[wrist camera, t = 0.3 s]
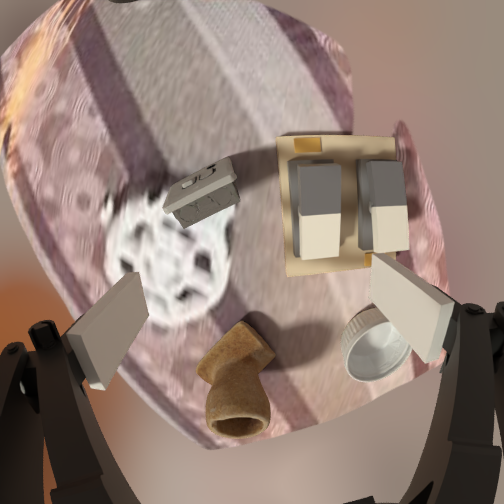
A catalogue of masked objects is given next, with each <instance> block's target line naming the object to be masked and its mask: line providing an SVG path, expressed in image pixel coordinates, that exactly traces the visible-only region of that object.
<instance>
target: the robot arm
mask: <svg viewBox="0 0 504 504" xmlns="http://www.w3.org/2000/svg"><path fill="white" fill-rule="evenodd" d="M109 1H111V2H114V3H128V2H133V1H137V0H109ZM369 299H370V300H371V301H372V302H373V303H374V304H375V305H376V306H377V308H378V309H379V310H380V311H381V312H382V313H383V314H384V315H385V317H386V318H387V319H388V320H389V321H390V322H391V323H392V325H393V326H394V327H395V328H396V329H397V330H398V332H399V333H400V334H401V335H402V336H403V337H404V339H405V340H406V341H407V342H408V343H409V345H410V346H411V347H412V348H413V349H414V351H415V352H416V353H417V354H418V355H419V357H420V358H421V359H422V360H423V362H424V363H428V362H431V361H434V360H437V359H439V356H440V353H441V350H442V347H443V348H444V349H445V350H446V351H447V353H446V356H445V359H444V362H443V365H442V367H441V370H440V373H442V378H441V383H440V389H439V394H438V398H437V403H436V407H435V411H434V415H433V419H432V423H431V427H430V430H429V434H428V437H427V441H426V444H425V447H424V450H423V453H422V456H421V458H420V461H419V464H418V467H417V469H416V472H415V474H414V477H413V479H412V482H411V484H410V486H409V488H408V490H407V492H406V493H405V495H404V496H403V498H402V499H401V501H400V502H399V504H493V503H494V499H495V494H496V490H497V484H498V479H499V473H500V466H501V458H502V450H501V448H500V446H493V431H494V410H496V415H497V420H498V424H499V429H500V435H501V441H502V448H503V456H504V302H499V303H497V305H496V308H495V312H494V313H486V311H485V309H483V308H482V307H481V306H479V305H476V304H471V303H466V304H463V305H461V304H460V303H458V302H457V301H455V300H454V299H453V298H451V297H450V296H448V295H447V294H446V293H445V292H443V291H442V290H440V289H439V288H438V287H436V286H433V285H431V284H429V283H428V282H426V281H425V280H424V279H422V278H421V277H419V276H418V275H416V274H415V273H413V272H412V271H411V270H409V269H408V268H406V267H405V266H403V265H402V264H400V263H399V262H397V261H396V260H394V259H393V258H391V257H390V256H388V255H386V254H385V253H374V254H372V265H371V278H370V290H369ZM148 316H149V313H148V309H147V305H146V301H145V297H144V292H143V288H142V283H141V279H140V274H139V272H131V273H127V274H125V275H124V276H123V277H122V278H121V279H120V280H119V281H118V282H117V283H116V284H115V285H114V286H113V287H112V288H111V289H110V290H109V291H108V292H107V293H106V294H105V295H103V296H102V297H101V298H100V299H99V300H98V301H97V302H96V303H95V304H94V305H93V306H92V307H91V308H90V309H89V310H88V311H87V312H86V313H85V314H83V315H82V316H80V317H79V318H78V319H77V320H76V321H75V323H74V324H72V326H71V327H70V328H69V329H68V330H67V331H66V332H65V333H64V334H63V335H62V336H61V337H60V335H59V333H58V330H57V328H56V325H55V323H54V321H52V320H44V321H40V322H38V323H36V324H34V325H33V326H31V328H30V329H29V331H28V333H29V335H30V338H31V340H32V343H33V345H34V347H35V349H36V351H29V352H27V350H26V348H25V346H24V344H23V343H22V342H14V343H10V344H8V345H7V347H5V348H4V350H3V351H2V353H1V355H0V504H44V490H43V447H44V437H45V442H46V446H47V450H48V455H49V459H50V463H51V467H52V470H53V474H54V477H55V480H56V484H57V488H56V489H52V490H51V492H50V496H51V501H52V504H141V503H140V502H139V500H138V499H137V497H136V496H135V494H134V492H133V491H132V489H131V487H130V486H129V484H128V482H127V481H126V479H125V477H124V475H123V474H122V472H121V470H120V468H119V466H118V465H117V463H116V461H115V459H114V457H113V455H112V453H111V451H110V449H109V447H108V445H107V442H106V440H105V438H104V436H103V434H102V432H101V429H100V427H99V425H98V422H97V420H96V417H95V415H94V412H93V410H92V407H91V404H90V402H89V399H88V396H87V394H86V391H85V388H84V386H83V385H82V382H83V381H84V379H85V378H86V379H87V381H88V383H89V385H90V387H91V388H93V389H100V390H106V388H107V386H108V385H109V383H110V381H111V379H112V377H113V376H114V374H115V372H116V370H117V369H118V367H119V365H120V363H121V362H122V360H123V358H124V356H125V355H126V353H127V351H128V350H129V348H130V346H131V344H132V343H133V341H134V339H135V338H136V336H137V334H138V333H139V331H140V329H141V328H142V326H143V324H144V323H145V321H146V320H147V318H148ZM442 371H443V372H442ZM344 504H398V503H375V501H374V498H373V496H369V497H367V498H363V499H360V500H356V501H352V502H348V503H344Z"/></svg>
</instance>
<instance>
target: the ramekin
mask: <svg viewBox="0 0 504 504" xmlns="http://www.w3.org/2000/svg"><path fill="white" fill-rule="evenodd" d="M341 350H342V355H343V358H344V366H345V369H346V370H347V372H348V374H349V375H350V376H351V377H352V378H353V379H354V380H357V381H360V382H374V381H378V380H381V379H384V378H386V377H388V376H390V375H391V374H393V373H394V372H395V371H397V370H398V369H399V368H400V367H401V366H402V365H403V364H404V363H405V361H406V360H407V359H408V357H409V355H410V353H411V351H412V347H411V346H410V345H409V343H408V342H407V341H406V340H405V339H404V337H403V336H402V335H401V334H400V333H399V332H398V330H397V329H396V328H395V327H394V326H393V325H392V323H391V322H390V321H389V320H388V319H387V318H386V317H385V315H384V314H383V313H382V312H381V311H380V310H379V309H378V308H372V309H368V310H366V311H363V312H361V313H360V314H358V315H357V316H355V317H354V318H353V319H352V320H351V321H350V322H349V323H348V325H347V326H346V327H345V329H344V331H343V333H342V337H341Z"/></svg>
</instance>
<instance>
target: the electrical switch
mask: <svg viewBox="0 0 504 504" xmlns="http://www.w3.org/2000/svg"><path fill="white" fill-rule="evenodd" d="M236 178H237V176H236V174H235V173H234V170H233V167H232V162H231V160H230V158H229V157H227V158H224V159H222V160H220V161H218V162H215V163H213V164H211V165H209V166H207V167H205V168H203V169H201V170H199V171H198V172H196V173H194V174H192V175H190V176H188V177H186V178H184V179H182V180H180V181H179V182H177V183H175V184H173V185H172V186H171V187H170V190H169V192H168V195H167V197H166V200H165V202H164V205H163V207H162V208H163V210H164V212H165V214H169V213H171V212H172V213H173V214H174V216H175V218H176V219H177V220H178V221H179V222H180V224H181V225H182V227H183V229H185V228H187V227H189V226H191V225H193V224H195V223H197V222H199V221H201V220H203V219H205V218H207V217H209V216H211V215H213V214H215V213H217V212H219V211H221V210H223V209H225V208H227V207H229V206H231V205H234V204H236V203H238V202H240V200H239V199H240V197H239V194H238V190H237V187H236V184H235V181H234V180H235V179H236ZM237 195H238V196H237ZM208 197H209V198H208ZM238 197H239V198H238ZM211 199H212V200H213V201H214V202H212V201H211ZM193 206H194V207H193ZM198 207H199V208H198ZM199 209H200V210H199ZM197 211H198V212H197ZM193 220H194V221H193Z"/></svg>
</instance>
